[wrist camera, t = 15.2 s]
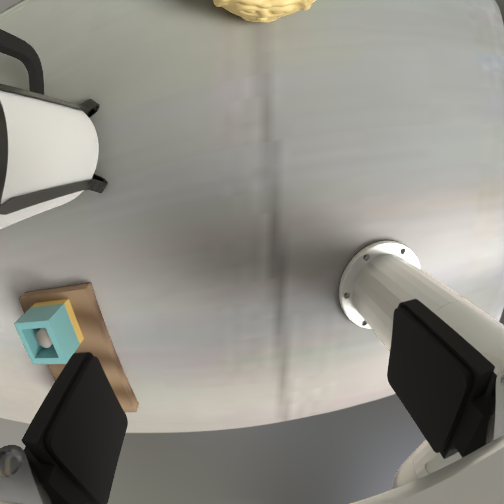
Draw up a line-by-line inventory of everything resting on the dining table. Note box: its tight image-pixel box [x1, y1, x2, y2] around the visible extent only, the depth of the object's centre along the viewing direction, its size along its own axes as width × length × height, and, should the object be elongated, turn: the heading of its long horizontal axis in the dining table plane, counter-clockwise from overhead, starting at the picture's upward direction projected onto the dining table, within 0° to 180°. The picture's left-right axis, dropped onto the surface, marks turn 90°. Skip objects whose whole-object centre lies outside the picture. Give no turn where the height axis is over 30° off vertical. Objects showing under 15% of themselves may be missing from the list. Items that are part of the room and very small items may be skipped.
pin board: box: [19, 283, 139, 412], centre depth 36 cm, size 21×12×7 cm, turn 8°
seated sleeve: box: [14, 299, 84, 364], centre depth 33 cm, size 6×6×6 cm
